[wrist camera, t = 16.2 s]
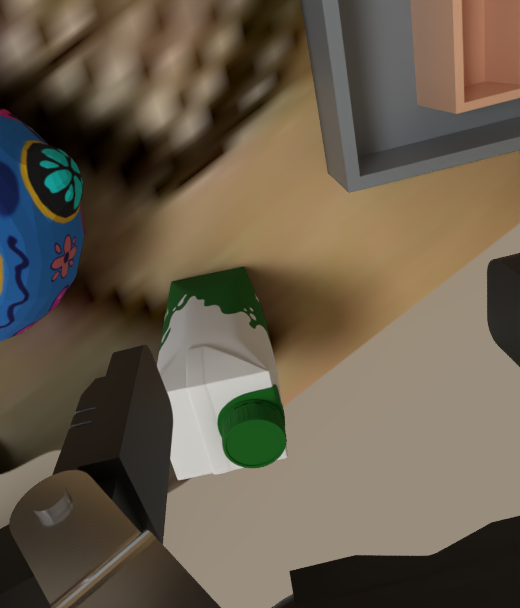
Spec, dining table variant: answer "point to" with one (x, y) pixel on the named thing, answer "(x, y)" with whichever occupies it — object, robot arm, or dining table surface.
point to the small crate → (466, 53)
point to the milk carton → (220, 377)
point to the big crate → (388, 99)
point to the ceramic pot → (35, 225)
